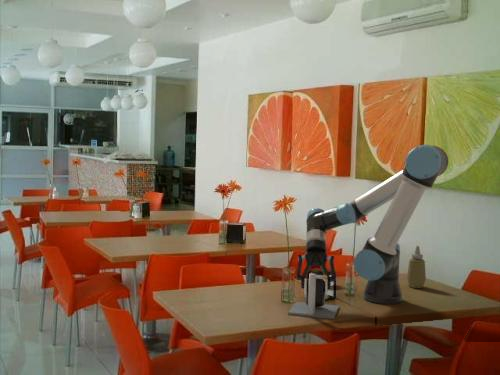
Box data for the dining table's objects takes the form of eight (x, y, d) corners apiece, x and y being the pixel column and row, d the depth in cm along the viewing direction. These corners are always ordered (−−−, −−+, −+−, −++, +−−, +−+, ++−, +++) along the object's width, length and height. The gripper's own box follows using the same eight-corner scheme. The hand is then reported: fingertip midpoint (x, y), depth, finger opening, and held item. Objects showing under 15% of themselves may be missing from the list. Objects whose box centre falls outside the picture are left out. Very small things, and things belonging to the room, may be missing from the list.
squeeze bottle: (405, 288, 259) (407, 246, 258) (406, 284, 267) (408, 244, 266) (425, 289, 257) (427, 248, 255) (425, 286, 264) (427, 245, 263)
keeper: (338, 307, 222) (340, 268, 221) (333, 319, 206) (335, 276, 205) (296, 303, 226) (297, 265, 225) (288, 314, 210) (289, 273, 209)
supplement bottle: (320, 301, 222) (321, 269, 221) (327, 306, 215) (328, 273, 214) (303, 302, 220) (304, 270, 219) (309, 307, 213) (310, 274, 213)
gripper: (341, 251, 231) (342, 303, 216) (290, 248, 233) (287, 300, 217) (342, 239, 225) (344, 291, 210) (290, 237, 227) (288, 289, 212)
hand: (315, 296), depth 214 cm, fingers closed on supplement bottle, 7 cm apart
